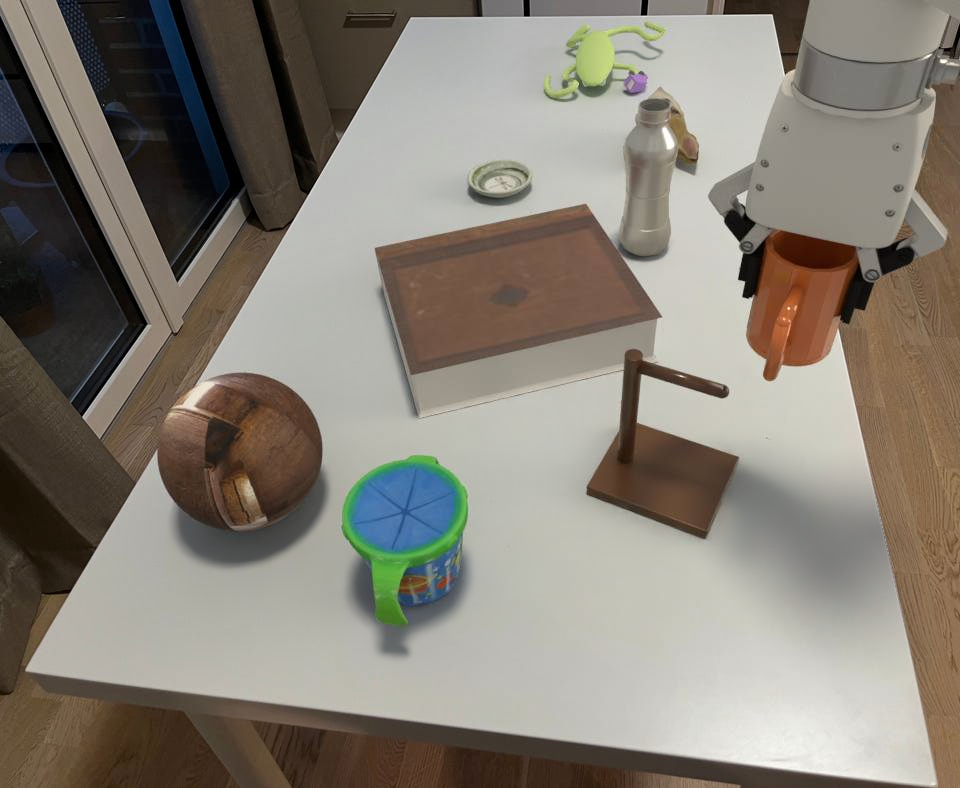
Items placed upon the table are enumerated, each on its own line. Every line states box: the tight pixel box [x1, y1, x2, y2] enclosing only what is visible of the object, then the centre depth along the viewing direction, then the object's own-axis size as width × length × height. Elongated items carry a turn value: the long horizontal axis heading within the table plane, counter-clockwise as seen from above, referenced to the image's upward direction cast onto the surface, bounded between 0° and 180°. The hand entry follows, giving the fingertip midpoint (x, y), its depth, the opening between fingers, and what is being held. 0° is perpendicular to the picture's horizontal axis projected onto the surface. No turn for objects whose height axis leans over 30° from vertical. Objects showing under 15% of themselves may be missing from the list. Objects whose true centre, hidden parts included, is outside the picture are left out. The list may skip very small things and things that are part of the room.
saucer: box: [467, 158, 533, 199], centre depth 119 cm, size 10×10×2 cm
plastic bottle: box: [618, 98, 679, 257], centre depth 99 cm, size 6×7×20 cm
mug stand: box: [586, 349, 740, 539], centre depth 73 cm, size 12×10×15 cm
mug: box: [745, 229, 859, 382], centre depth 59 cm, size 11×6×9 cm, turn 151°
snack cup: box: [341, 454, 469, 627], centre depth 70 cm, size 16×10×10 cm
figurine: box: [543, 20, 667, 99], centre depth 144 cm, size 18×27×6 cm
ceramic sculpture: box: [634, 86, 700, 165], centre depth 121 cm, size 11×9×15 cm
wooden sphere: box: [156, 372, 324, 532], centre depth 76 cm, size 15×15×15 cm
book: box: [374, 203, 663, 419], centre depth 95 cm, size 24×28×6 cm
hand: (799, 298), depth 61 cm, fingers closed on mug, 6 cm apart
